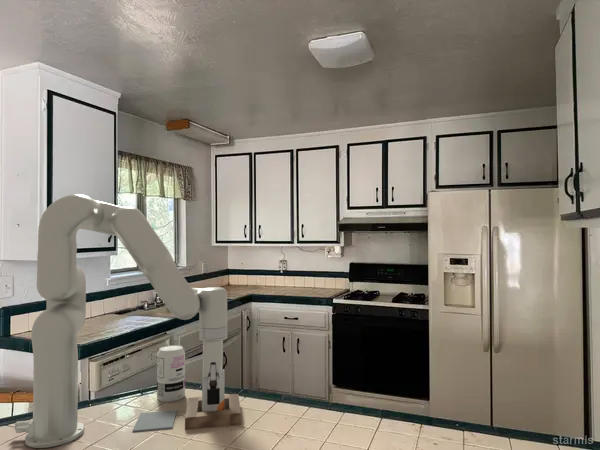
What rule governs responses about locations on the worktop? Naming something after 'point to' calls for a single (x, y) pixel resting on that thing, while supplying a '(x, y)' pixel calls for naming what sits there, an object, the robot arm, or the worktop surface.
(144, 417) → the rubber mat
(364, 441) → the worktop surface
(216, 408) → the skincare box
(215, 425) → the holder block
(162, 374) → the supplement can
